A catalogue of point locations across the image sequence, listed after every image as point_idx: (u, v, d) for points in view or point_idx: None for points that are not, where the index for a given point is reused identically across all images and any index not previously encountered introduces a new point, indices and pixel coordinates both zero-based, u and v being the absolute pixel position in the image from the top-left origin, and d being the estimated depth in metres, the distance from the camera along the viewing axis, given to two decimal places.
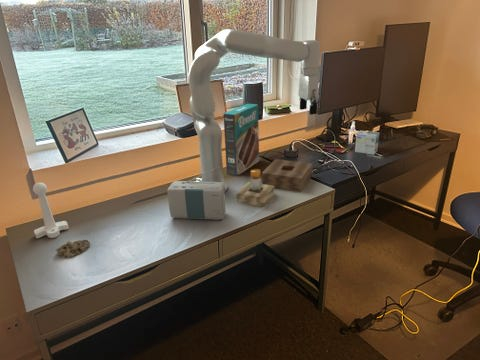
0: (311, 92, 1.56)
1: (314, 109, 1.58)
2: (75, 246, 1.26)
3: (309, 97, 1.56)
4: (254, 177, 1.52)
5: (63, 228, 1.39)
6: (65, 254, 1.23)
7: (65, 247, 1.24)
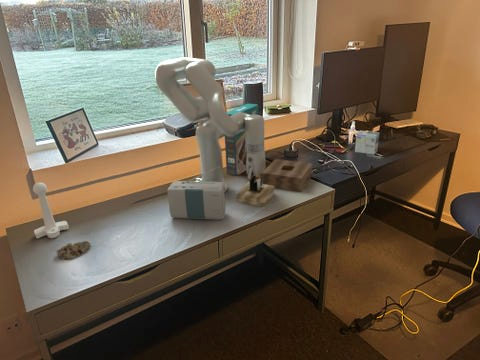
0: None
1: None
2: (75, 248, 1.25)
3: None
4: None
5: (63, 228, 1.39)
6: (65, 256, 1.22)
7: (65, 249, 1.24)
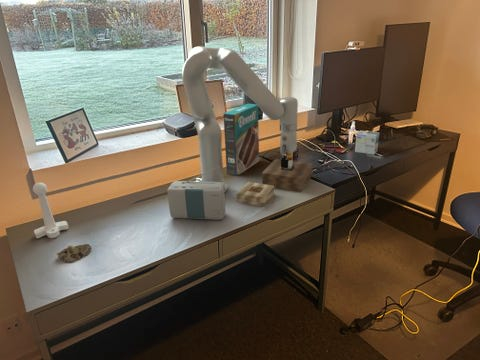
0: None
1: None
2: (76, 250, 1.23)
3: None
4: None
5: (63, 228, 1.39)
6: (65, 259, 1.21)
7: (66, 251, 1.22)
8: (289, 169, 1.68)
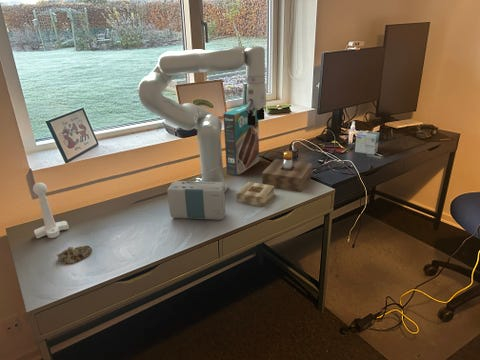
0: None
1: None
2: (76, 252, 1.22)
3: None
4: (286, 158, 1.66)
5: (63, 228, 1.39)
6: (66, 260, 1.20)
7: (66, 253, 1.21)
8: (289, 169, 1.68)
